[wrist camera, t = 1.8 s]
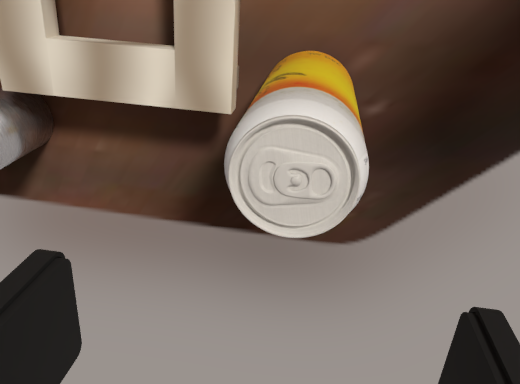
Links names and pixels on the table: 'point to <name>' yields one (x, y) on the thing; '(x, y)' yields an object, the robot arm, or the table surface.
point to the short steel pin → (22, 125)
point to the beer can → (299, 149)
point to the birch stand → (125, 58)
